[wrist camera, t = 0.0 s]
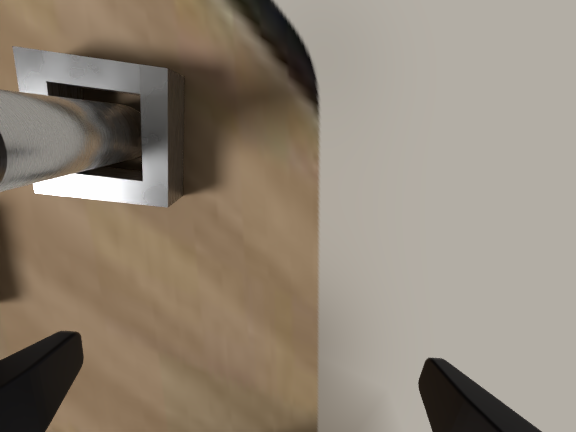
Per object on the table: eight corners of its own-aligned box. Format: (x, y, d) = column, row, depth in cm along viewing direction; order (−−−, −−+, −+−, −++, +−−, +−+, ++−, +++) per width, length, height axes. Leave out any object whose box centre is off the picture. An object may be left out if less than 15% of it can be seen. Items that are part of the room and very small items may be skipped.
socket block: (182, 195, 21) (167, 207, 18) (68, 183, 20) (34, 193, 17) (184, 76, 18) (167, 68, 16) (54, 58, 18) (12, 46, 15)
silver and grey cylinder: (151, 162, 20) (-30, 218, 8) (98, 155, 20) (-169, 204, 8) (150, 108, 19) (-60, 82, 7) (94, 100, 19) (-222, 61, 7)
